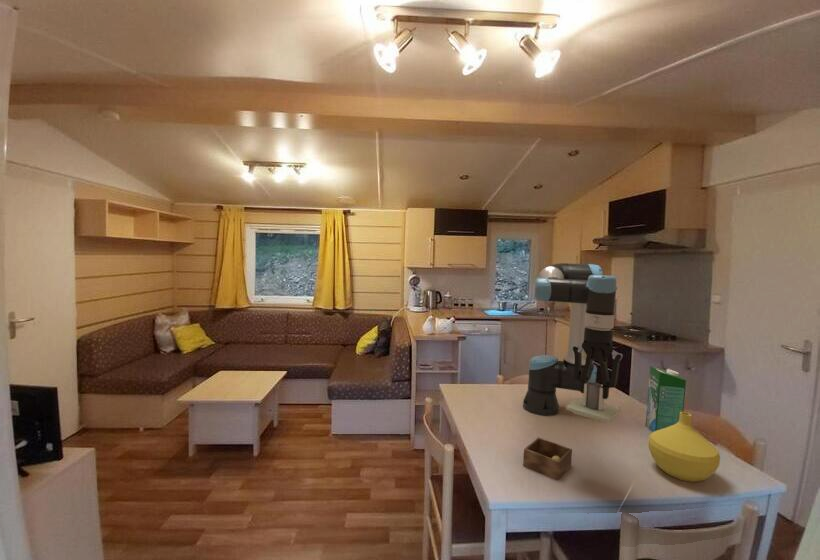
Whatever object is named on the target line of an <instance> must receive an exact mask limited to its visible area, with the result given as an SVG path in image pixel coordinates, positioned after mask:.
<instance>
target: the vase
mask: <svg viewBox="0 0 820 560" xmlns="http://www.w3.org/2000/svg"><path fill="white" fill-rule="evenodd" d="M648 449H649V451H650V455H651V457H652V459H653V461H654V462H655V463H656V464H657V466H658V467H659V468H660V469H661V470H662V471H663V472H664V473H666V475H669V476H671V477H673V478H675V479H678V480H680V481H685V482H693V483H694V482H700V481H705V480H706V479H708V478H710V477H711V476H713V475H714V473H715V472H716V470H717V469H718V468H719V466H720V462H721V456H720V453H719V450H718V449H717V447H715V445H713V444H712V443H711V442H710V441H708V440H707V439H706V438H705V437H704V436H703V435H701V434H700V432H699V431H697V430H696V429H695V428H694V427H693V425H692V414H691V413H689V412H685V411H683V412H680V417H679V422H678V423H676V424H674V425H672V426H669V427H666V428H663V429H660V430H657V431H654V432H651V433H650V435H649V436H648Z"/></svg>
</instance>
